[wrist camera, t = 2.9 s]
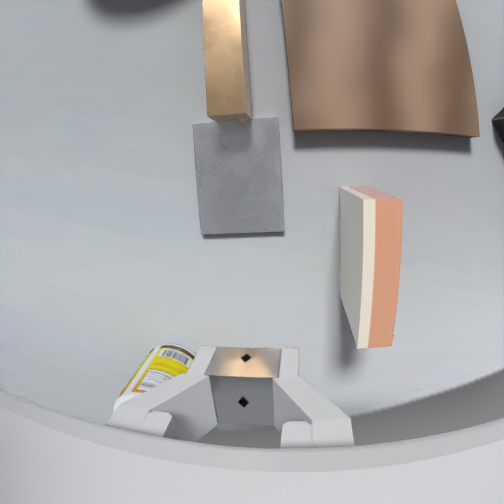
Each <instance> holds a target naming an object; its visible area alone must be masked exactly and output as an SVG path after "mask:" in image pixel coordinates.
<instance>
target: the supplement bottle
mask: <svg viewBox="0 0 504 504" xmlns="http://www.w3.org/2000/svg"><path fill="white" fill-rule="evenodd" d="M195 356H196V355H195V354H194V353H193V352H192V351H190V350H189V349H187V348H185V347H183V346H180V345H177V344H162V345H159V346H157V347H155V348H154V349H152V350H151V351H150V353H149V354H148V355H147V357H146V358H145V360H144V361H143V363H142V364H141V365H140V367H139V368H138V370H137V371H136V373H135V374H134V375H133V377H132V378H131V380H130V381H129V383H128V384H127V385H126V387H125V388H124V390H123V391H122V393H121V394H120V395H119V397H118V398H117V400H116V402H115V404H114V407H113V413H114V412H115V411H116V409H117V408H118V406H119V405H120V404H121V403H123V402H125V401H127V400H129V399H131V398H133V397H135V396H138V395H140V394H142V393H144V392H146V391H148V390H150V389H152V388H154V387H156V386H158V385H160V384H162V383H164V382H166V381H168V380H170V379H172V378H174V377H176V376H178V375H180V374H186V373H187V371H188V369H189V367H190V366H191V364H192V362H193V360H194V358H195Z"/></svg>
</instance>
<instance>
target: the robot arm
mask: <svg viewBox="0 0 504 504" xmlns="http://www.w3.org/2000/svg"><path fill="white" fill-rule="evenodd" d="M218 423H227V424H250V425H265V426H275V428H276V430H277V431H278V432H279V434H280V436H281V444H280V448H259V447H242V446H228V445H217V444H208V443H199V442H198V440H200V439H201V438H202V437H203V436H205V435H206V434H207V433H208V432H209V431H211V430H212V429H213V428H214V427H215V426H216V425H218ZM0 504H504V418H502V419H498V420H495V421H492V422H488V423H484V424H481V425H477V426H473V427H469V428H465V429H461V430H457V431H452V432H447V433H443V434H438V435H433V436H428V437H422V438H416V439H409V440H403V441H396V442H388V443H380V444H370V445H360V446H354V439H353V432H352V425H351V418H349V417H348V416H347V415H346V414H345V413H344V412H342V411H341V410H340V409H339V408H338V407H336V406H335V405H334V404H333V403H332V402H331V401H329V400H328V399H327V398H326V397H325V396H324V395H323V394H321V393H320V392H319V391H318V390H317V389H316V388H315V387H313V386H312V385H311V384H310V383H309V382H308V381H307V380H305V379H304V378H299V347H286V348H240V347H217V346H201V347H200V349H199V351H198V353H197V354H196V356H195V358H194V360H193V362H192V364H191V366H190V367H189V369H188V371H187V373H186V374H180V375H178V376H176V377H174V378H172V379H170V380H168V381H166V382H164V383H162V384H160V385H158V386H156V387H154V388H152V389H150V390H148V391H146V392H144V393H142V394H140V395H138V396H135V397H133V398H131V399H129V400H127V401H125V402H123V403H121V404H120V405H119V406H118V408H117V409H116V411H115V412H114V413H113V415H112V416H111V418H110V419H109V420H108V422H107V423H106V425H103V424H99V423H96V422H92V421H88V420H85V419H81V418H78V417H74V416H71V415H68V414H65V413H61V412H58V411H55V410H52V409H49V408H46V407H44V406H41V405H38V404H35V403H32V402H30V401H27V400H25V399H22V398H19V397H17V396H14V395H12V394H9V393H7V392H5V391H2V390H0Z"/></svg>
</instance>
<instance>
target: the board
mask: <svg viewBox="0 0 504 504" xmlns="http://www.w3.org/2000/svg"><path fill="white" fill-rule="evenodd" d="M281 5H282V13H283V22H284V31H285V40H286V50H287V60H288V70H289V81H290V92H291V104H292V117H293V131H294V132H300V131H389V132H410V133H426V134H439V135H450V136H460V137H469V138H472V137H480V134H479V121H478V111H477V102H476V94H475V87H474V80H473V74H472V68H471V63H470V57H469V52H468V47H467V43H466V38H465V34H464V30H463V26H462V22H461V18H460V15H459V11H458V7H457V4H456V1H455V0H281Z"/></svg>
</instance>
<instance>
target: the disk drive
mask: <svg viewBox="0 0 504 504" xmlns="http://www.w3.org/2000/svg"><path fill="white" fill-rule="evenodd" d="M492 123H493V124H494V125H495V127H496V129H497V131H498V132H499V135H500V137H501V139H502V141H503V143H504V108H503V109H502V110H501V111H500V112H499V113H498V114H497V115H496V116H495V117H494V118H493V119H492Z"/></svg>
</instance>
